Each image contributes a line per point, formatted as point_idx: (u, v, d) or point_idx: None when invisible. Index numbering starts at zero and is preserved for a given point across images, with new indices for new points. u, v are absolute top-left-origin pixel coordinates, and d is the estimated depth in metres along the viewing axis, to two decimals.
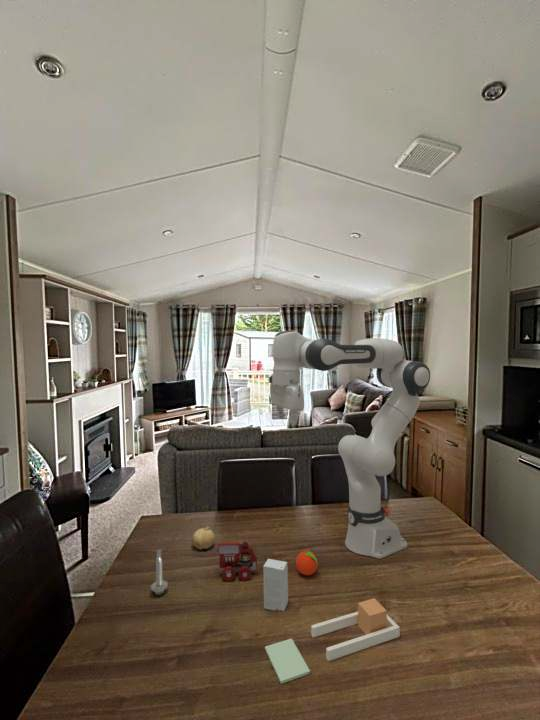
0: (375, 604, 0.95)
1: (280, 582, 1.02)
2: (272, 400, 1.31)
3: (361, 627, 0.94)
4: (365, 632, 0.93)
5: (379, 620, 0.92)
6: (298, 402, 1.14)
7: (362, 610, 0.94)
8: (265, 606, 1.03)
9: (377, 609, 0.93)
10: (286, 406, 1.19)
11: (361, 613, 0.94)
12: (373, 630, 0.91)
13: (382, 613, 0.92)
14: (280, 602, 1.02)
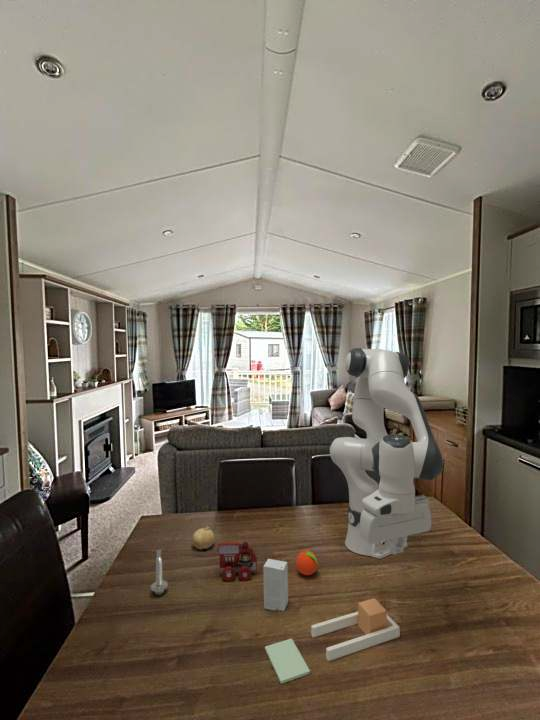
0: (375, 604, 0.95)
1: (280, 582, 1.02)
2: (374, 539, 0.92)
3: (361, 627, 0.94)
4: (365, 632, 0.93)
5: (379, 620, 0.92)
6: None
7: (362, 610, 0.94)
8: (265, 606, 1.03)
9: (377, 609, 0.93)
10: (414, 531, 0.96)
11: (361, 613, 0.94)
12: (373, 630, 0.91)
13: (382, 613, 0.92)
14: (280, 602, 1.02)
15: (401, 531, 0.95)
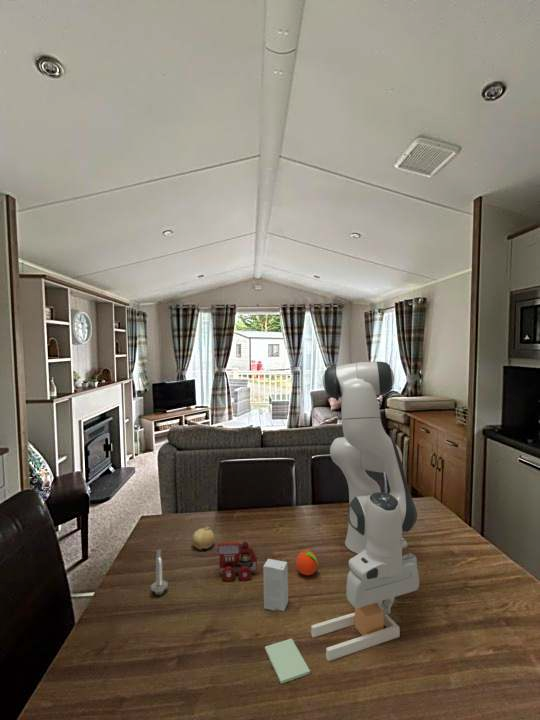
0: (372, 605, 0.95)
1: (280, 582, 1.02)
2: (360, 603, 0.91)
3: (358, 628, 0.94)
4: (362, 633, 0.92)
5: (376, 621, 0.92)
6: None
7: (358, 611, 0.94)
8: (265, 606, 1.03)
9: (373, 610, 0.93)
10: (401, 592, 0.95)
11: (358, 614, 0.94)
12: (370, 631, 0.91)
13: (379, 614, 0.92)
14: (280, 602, 1.02)
15: (388, 593, 0.94)
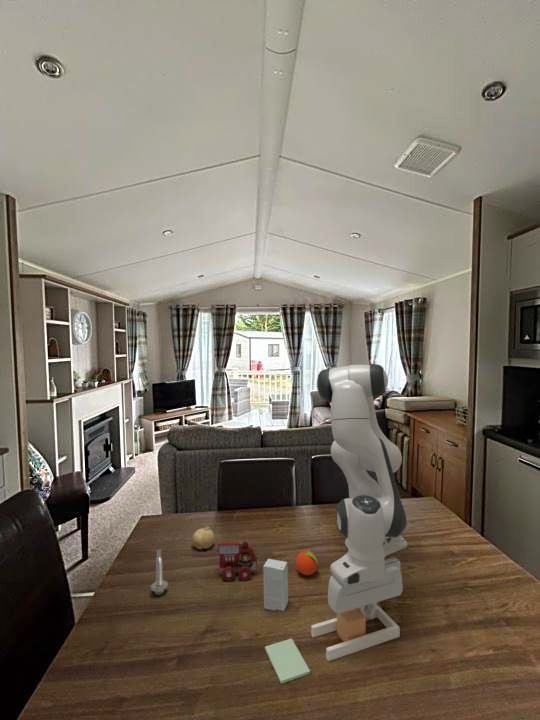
0: (354, 610, 0.93)
1: (280, 582, 1.02)
2: (342, 608, 0.89)
3: (340, 634, 0.92)
4: (343, 639, 0.91)
5: (358, 627, 0.90)
6: None
7: (340, 616, 0.92)
8: (265, 606, 1.03)
9: (355, 616, 0.91)
10: (384, 597, 0.93)
11: (340, 620, 0.92)
12: (351, 637, 0.89)
13: (361, 620, 0.90)
14: (280, 602, 1.02)
15: (370, 598, 0.92)
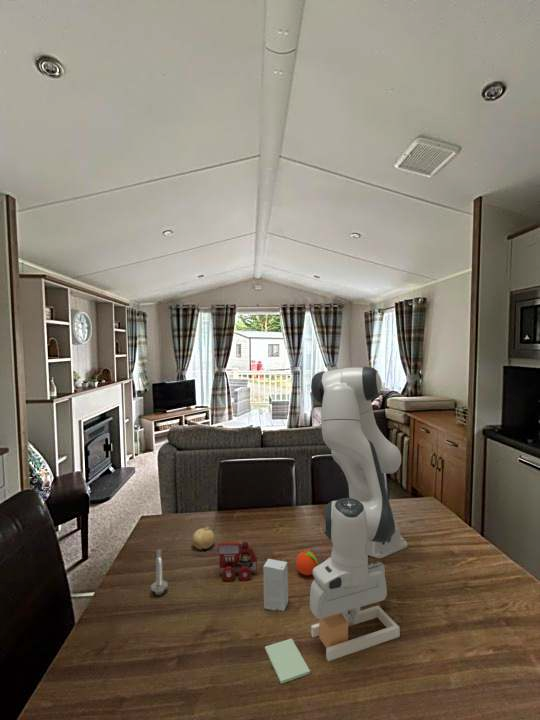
0: (337, 615, 0.91)
1: (280, 582, 1.02)
2: (323, 614, 0.87)
3: (322, 639, 0.90)
4: (325, 645, 0.89)
5: (340, 632, 0.88)
6: None
7: (322, 622, 0.90)
8: (265, 606, 1.03)
9: (338, 621, 0.89)
10: (368, 602, 0.91)
11: (322, 625, 0.90)
12: (333, 643, 0.87)
13: (343, 625, 0.88)
14: (280, 602, 1.02)
15: (353, 603, 0.90)
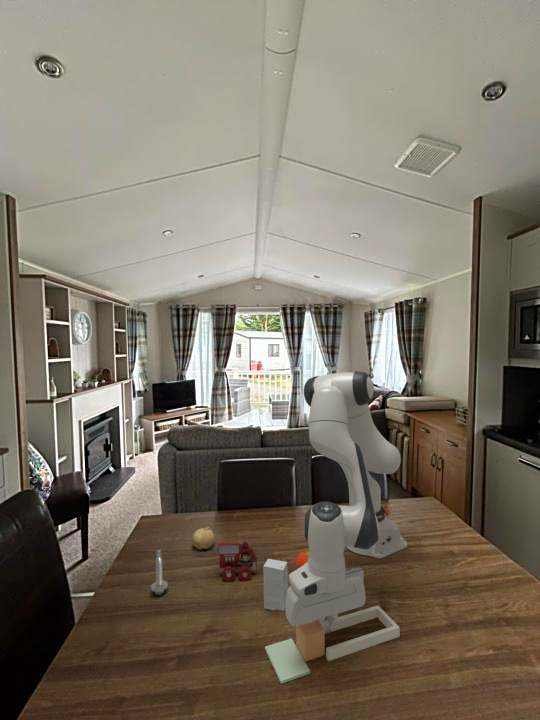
0: (313, 622, 0.89)
1: (280, 582, 1.02)
2: (299, 621, 0.85)
3: (298, 647, 0.88)
4: (301, 653, 0.87)
5: (316, 640, 0.86)
6: None
7: (299, 629, 0.88)
8: (265, 606, 1.03)
9: (314, 628, 0.87)
10: (345, 608, 0.89)
11: (298, 632, 0.88)
12: (309, 651, 0.85)
13: (319, 633, 0.86)
14: (280, 602, 1.02)
15: (330, 609, 0.88)
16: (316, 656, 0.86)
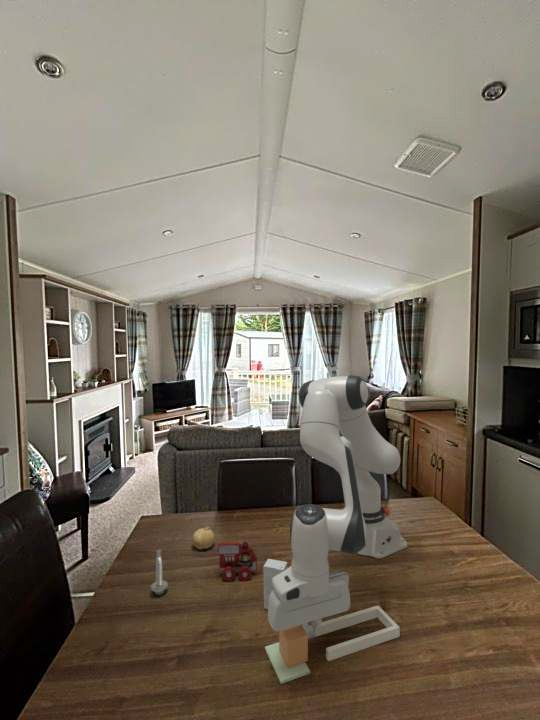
0: (297, 627, 0.87)
1: None
2: (281, 626, 0.83)
3: (281, 653, 0.87)
4: (284, 658, 0.85)
5: (299, 645, 0.84)
6: None
7: (282, 634, 0.86)
8: (265, 606, 1.03)
9: (297, 633, 0.85)
10: (329, 613, 0.88)
11: (281, 637, 0.87)
12: (292, 657, 0.84)
13: (302, 638, 0.85)
14: None
15: (314, 614, 0.86)
16: (299, 662, 0.84)
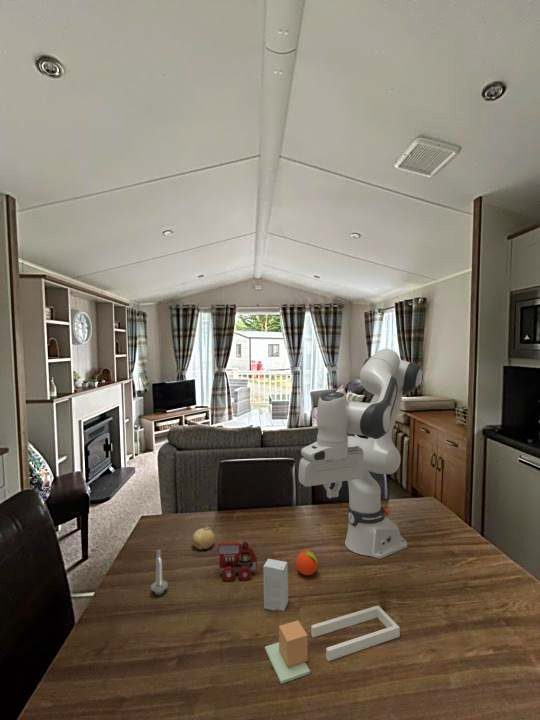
0: (297, 627, 0.87)
1: (280, 582, 1.02)
2: (310, 482, 1.03)
3: (281, 653, 0.87)
4: (284, 658, 0.85)
5: (299, 645, 0.84)
6: None
7: (281, 634, 0.86)
8: (265, 606, 1.03)
9: (297, 634, 0.85)
10: (348, 478, 1.07)
11: (281, 637, 0.86)
12: (291, 657, 0.84)
13: (302, 638, 0.85)
14: (280, 602, 1.02)
15: (335, 477, 1.06)
16: (299, 662, 0.84)
